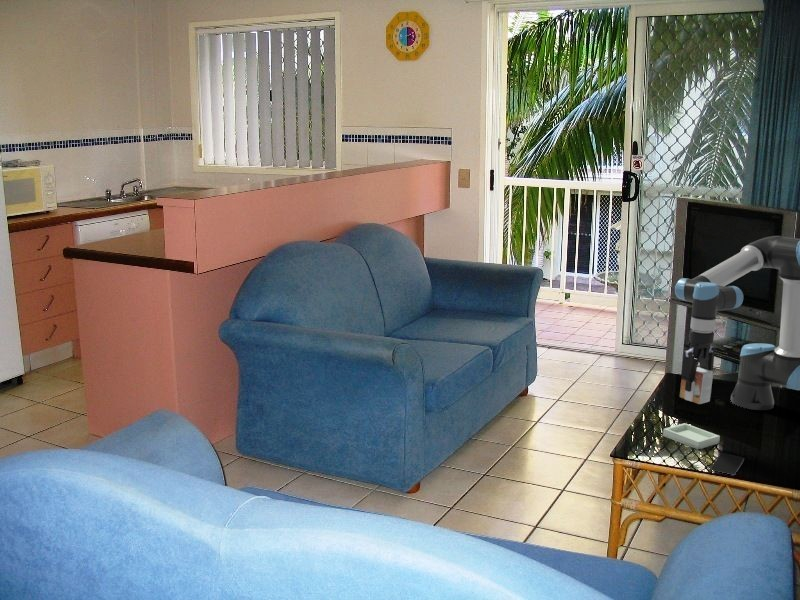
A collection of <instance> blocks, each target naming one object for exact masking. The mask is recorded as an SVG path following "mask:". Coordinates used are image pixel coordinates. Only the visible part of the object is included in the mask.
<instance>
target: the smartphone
mask: <svg viewBox="0 0 800 600" xmlns="http://www.w3.org/2000/svg"><path fill="white" fill-rule="evenodd" d="M744 461H745V458H744V457H742V456H738V455H735V454H734V455H733V454H729V453H724V452H723V453H722V452H721V453H719V455H718V456H717V458H716V459H715V461H714V462H713V464H712V466H711V467H710V469H711V470H713V471H712V472H714V471H718V472H717V473H719V472H722V473H721V474H723V473H727V474H731V475H730V476H735V475H736V474H737V473H738V471H739V469H740V468H741V467H742V465H743V463H744ZM711 470H710V471H711ZM736 472H737V473H736ZM727 474H726V475H727Z"/></svg>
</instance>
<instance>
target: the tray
mask: <svg viewBox="0 0 800 600" xmlns="http://www.w3.org/2000/svg"><path fill="white" fill-rule="evenodd" d="M662 432H663V433H662V436H663V437H665V438H667V439H670V440H672V441H675V442H678V443H680V444H682V445H685V446H687V447H691V448H692V449H696V450H700V449H701V450H702V449H704V448H708V447H711V446H714V445H718V444H720V440H721V439H720V437H721V436H720V435H719V434H715V433H713V432H711V431H707V430H705V429H702V428H699V427H696V426H693V425H691V424H688V423H685V422H684V423H680V424H676V425H673V426H669V427H665V428H663V431H662Z"/></svg>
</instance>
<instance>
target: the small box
mask: <svg viewBox="0 0 800 600" xmlns="http://www.w3.org/2000/svg"><path fill="white" fill-rule="evenodd" d="M713 377H714V370H713V371H711V370H707V369H703V368H700V366H697V370H696V373H695V377H694V380H693V382H695V386H694V395H693V401H692V403H695V404H698V405H702V404H705V403H708V402H710V401H711V394H712V384H713ZM685 385H686V381H685V380H683V379H682V378H681V382H680V391H679V398H681V399H684V400H685Z"/></svg>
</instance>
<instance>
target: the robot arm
mask: <svg viewBox="0 0 800 600" xmlns="http://www.w3.org/2000/svg"><path fill="white" fill-rule="evenodd" d="M765 268H766V269H774V270H775V269H776V270H778V271H779V275H778V278H780V280H781V281H782V282H783V283H782V296H781V297H782V298H781V310H780V311H781V314H780V328H779V341H778V342H779V344H778V346H777V347H776V346H775V345H774V344H772V343H760V342H759V343H756V342H755V343H747V344H744V345H743V346H742V347H741V350H740V355H739V366H738V373H737V374H738V375H737V376H738V377H737V383H736V384H735V387H734V388H733V390H732V393H731V395H730V400H731V401H730V403H731V402H732V403H731V404H732V405H734V404H735V405H734V406H736V405H737V407H739V406H740V407H739V408H742V407H743V408H742V409H746V408H747V409H748V410H755V411H769V410H772V409H773V408H774V405H775V399H774V395H773V391H772V384H774V385H778V386H780V387H784V388H787V389H789V390H791V389H792V390H794V391H795V390H796V391H800V238H795V237H788V236H782V235H772V236H767V237H763V238H760V239H758V240H755V241H752V242H750V243H748V244H746V245H745V246H743V247H742V248H741V249H740V252H738V253H736V254H734V255H733V256H731V257H729V258H727V259H725V260H724V261H722V262H719V264H717V265H715V266H714V267H711V268H710V269H708V270H706V271H704V272H703V273H701V274H699V275H698V276H696V277H694V278H691V279H690V278H684V277H682V278H679V280H678V281H677V282H676V284H675V286H674V294H675V296H676V298H677V299H679V300H682V301H685V302H689V303H692V306H691V307H692V308H691V310H692V311H691V316H690V317H691V319H690V330H689V333H688V341H689V342H690V343H691V344H690V347H689V349H688V350H685V349H684V350H683V364H682V372H681V380H682V379H683V380H685V381H686V385H685V399H684V400H685V401H689V402H692V401H693V395H694V386H695V382H693V380H694V377H695V373H696V370H697V367H700V368H703V369H707V370H711V371H713V372H714V363H715V353H716V351H717V350H716V349H717V347H716V346H714V345H713V346H712V344H713V343H714V337H715V333H714V331H715V330H716V318H717V312H720V311H729V310H730V311H732V310H733V309H737V308H739V307H740V306H741V305H742V304H743V301H744V293H743V291H742V289H740V288H739V287H738V286H735V285H729V284H731V283H733V282H734V281H736V280H738V279H739V278H741V277H743V276H745V275H746V274H748V273H750V272H751V271H754V272H756V271H759V270H761V269H765ZM692 403H693V402H692Z"/></svg>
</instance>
